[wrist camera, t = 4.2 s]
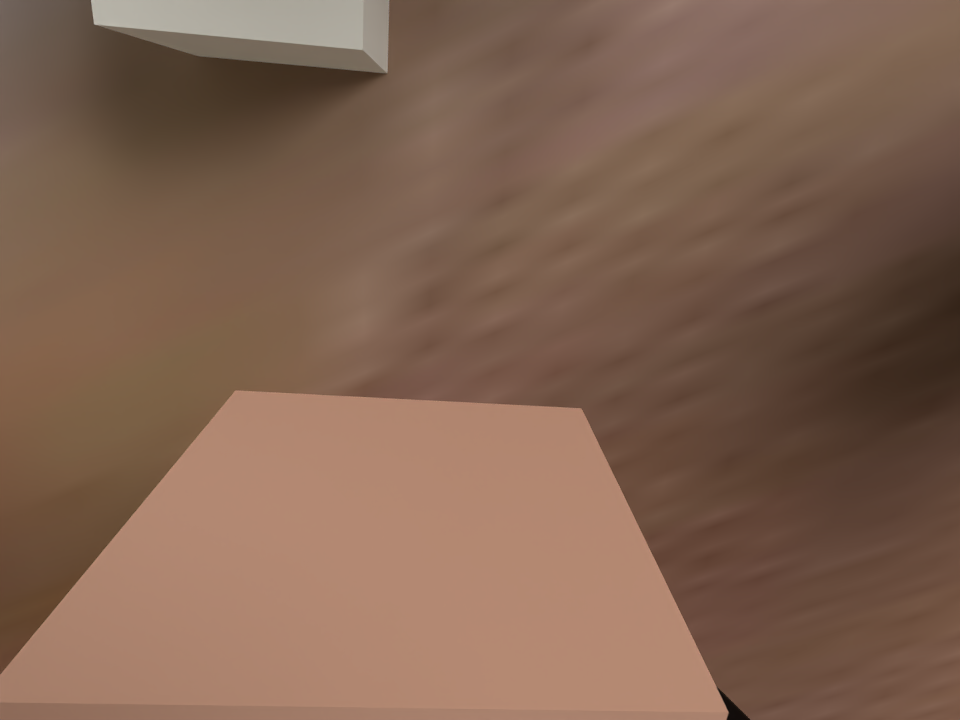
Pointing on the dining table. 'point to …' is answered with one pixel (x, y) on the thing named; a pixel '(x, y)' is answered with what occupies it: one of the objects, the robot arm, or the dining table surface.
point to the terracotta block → (372, 579)
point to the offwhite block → (260, 29)
